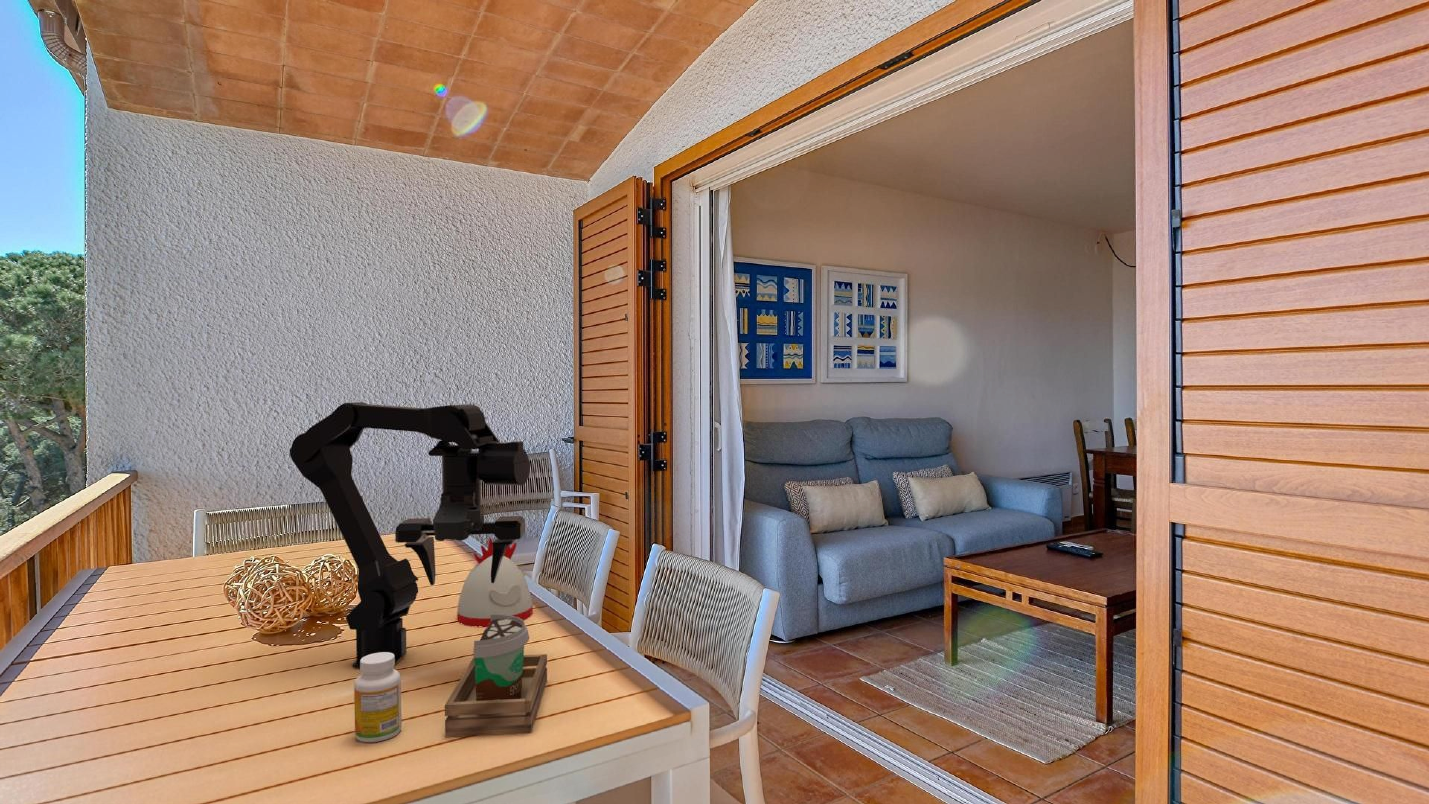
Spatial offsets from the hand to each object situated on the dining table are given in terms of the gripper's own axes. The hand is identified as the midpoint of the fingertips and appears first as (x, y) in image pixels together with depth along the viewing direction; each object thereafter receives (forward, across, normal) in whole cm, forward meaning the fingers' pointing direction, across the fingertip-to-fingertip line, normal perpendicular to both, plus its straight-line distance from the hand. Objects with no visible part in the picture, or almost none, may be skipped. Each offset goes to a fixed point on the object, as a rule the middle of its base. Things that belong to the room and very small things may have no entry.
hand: (463, 583), depth 117 cm
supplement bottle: (+13, -6, -22) cm, 26 cm away
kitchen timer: (+13, 0, +26) cm, 29 cm away
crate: (+13, +8, -16) cm, 22 cm away
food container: (+12, +9, -16) cm, 22 cm away
